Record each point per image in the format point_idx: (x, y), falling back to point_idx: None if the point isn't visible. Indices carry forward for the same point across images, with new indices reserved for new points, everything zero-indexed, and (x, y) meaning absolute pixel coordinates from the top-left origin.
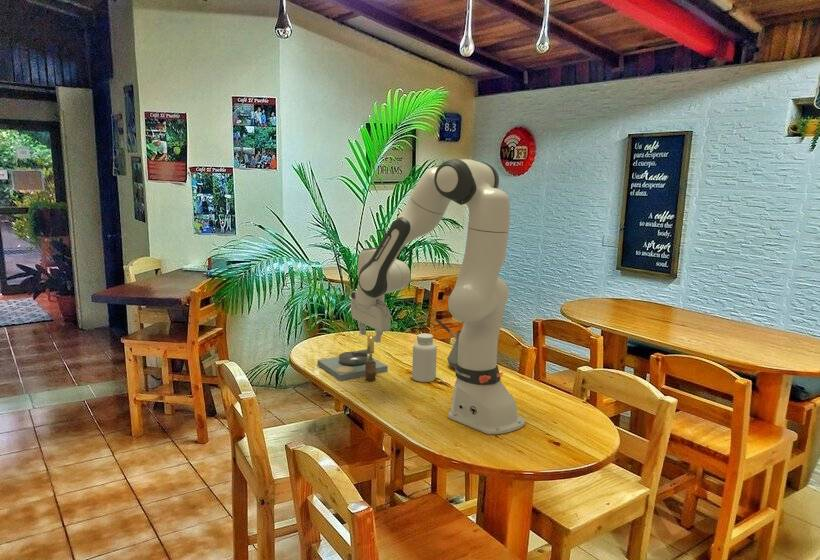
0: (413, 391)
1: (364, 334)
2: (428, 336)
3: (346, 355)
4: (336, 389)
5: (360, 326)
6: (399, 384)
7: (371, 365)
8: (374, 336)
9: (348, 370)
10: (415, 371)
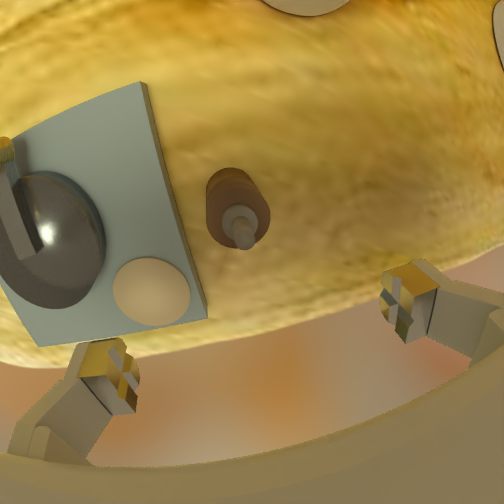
0: (407, 84)
1: (125, 349)
2: None
3: (32, 277)
4: (282, 325)
5: (89, 435)
6: (329, 92)
7: (268, 219)
8: (410, 338)
9: (171, 287)
10: (333, 4)
